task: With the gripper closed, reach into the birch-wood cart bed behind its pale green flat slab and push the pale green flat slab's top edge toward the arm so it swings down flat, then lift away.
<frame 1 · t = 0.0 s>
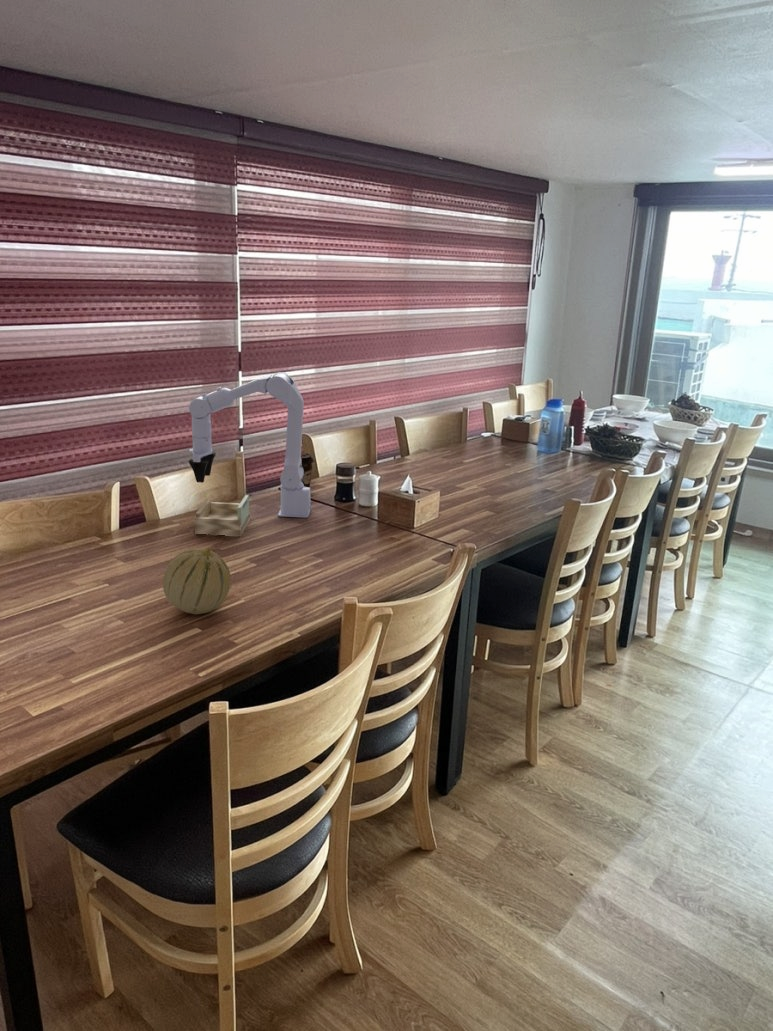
hand: (203, 478, 227), 10 cm above the table, tool pointing down, fingers open, 7 cm apart
cart bed: (223, 526, 217), on the table
cantaloupe: (198, 611, 165), on the table
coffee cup: (301, 491, 254), on the table
pale green flat slab: (243, 510, 215), point 5 cm above the table, hinge at 0.0°
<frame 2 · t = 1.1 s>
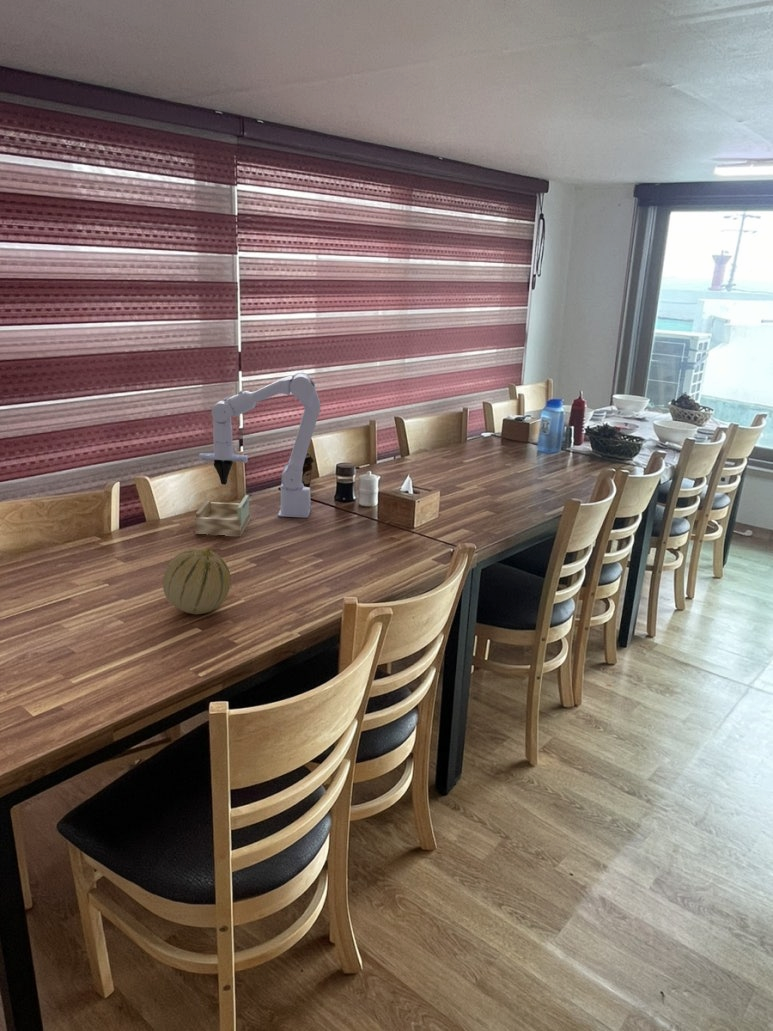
hand: (224, 483, 226), 9 cm above the table, tool pointing down, fingers closed
nothing on the table moved.
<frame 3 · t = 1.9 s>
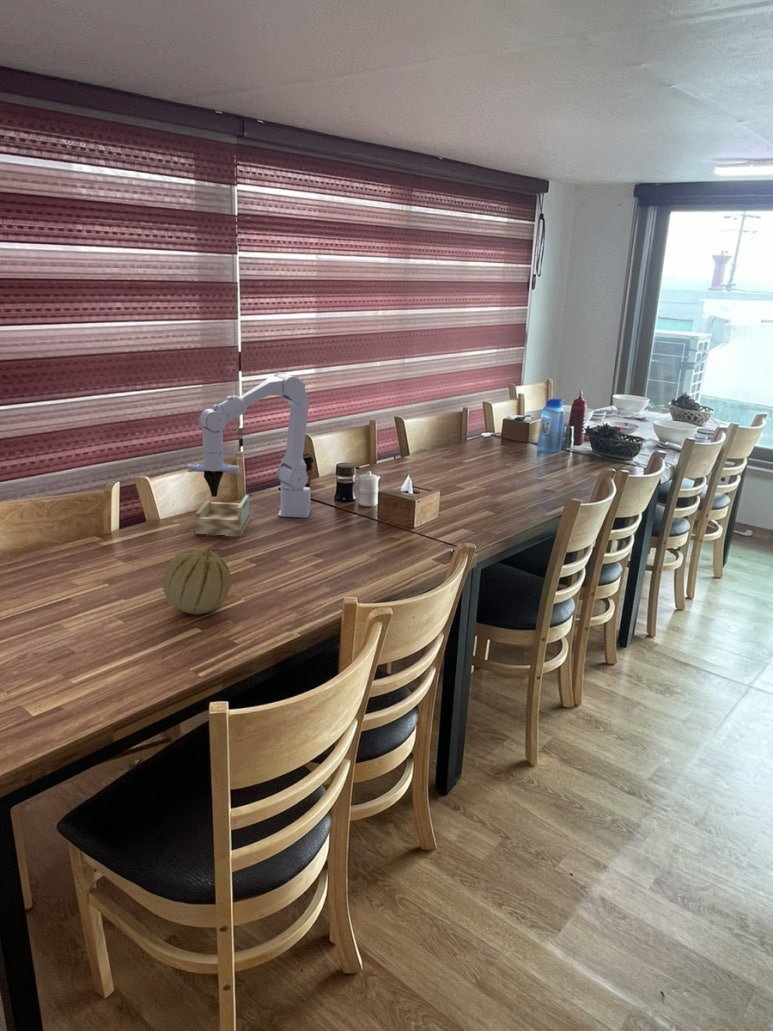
hand: (214, 495, 214), 9 cm above the table, tool pointing down, fingers closed
nothing on the table moved.
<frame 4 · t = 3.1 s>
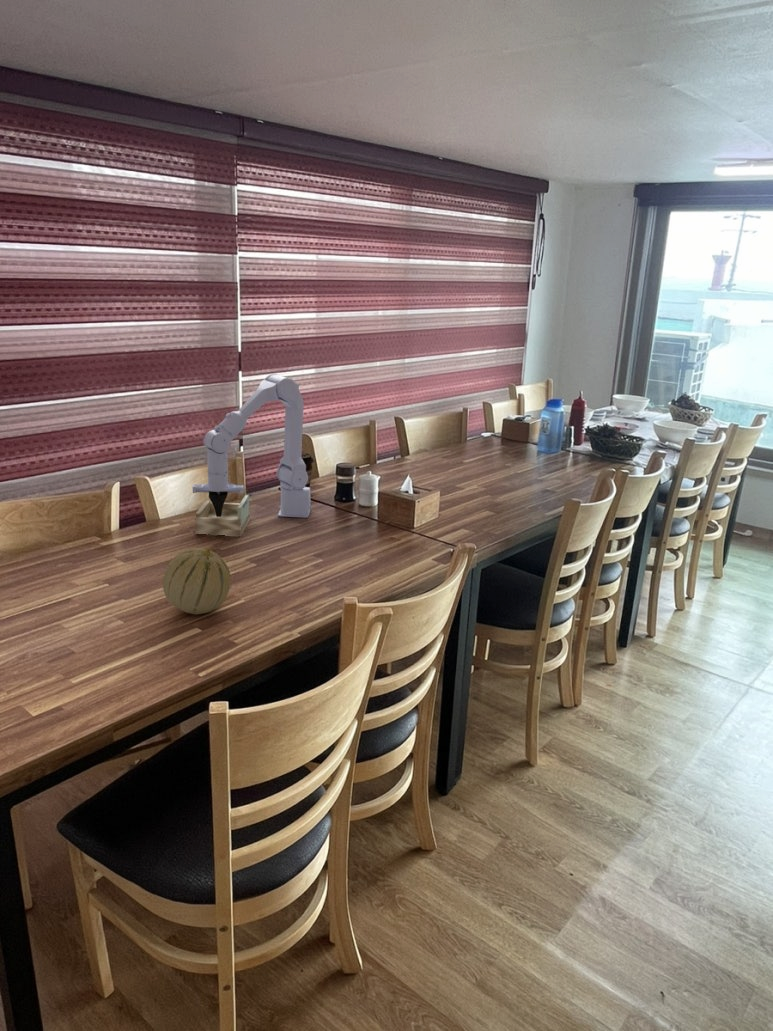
hand: (219, 515, 215), 3 cm above the table, tool pointing down, fingers closed
nothing on the table moved.
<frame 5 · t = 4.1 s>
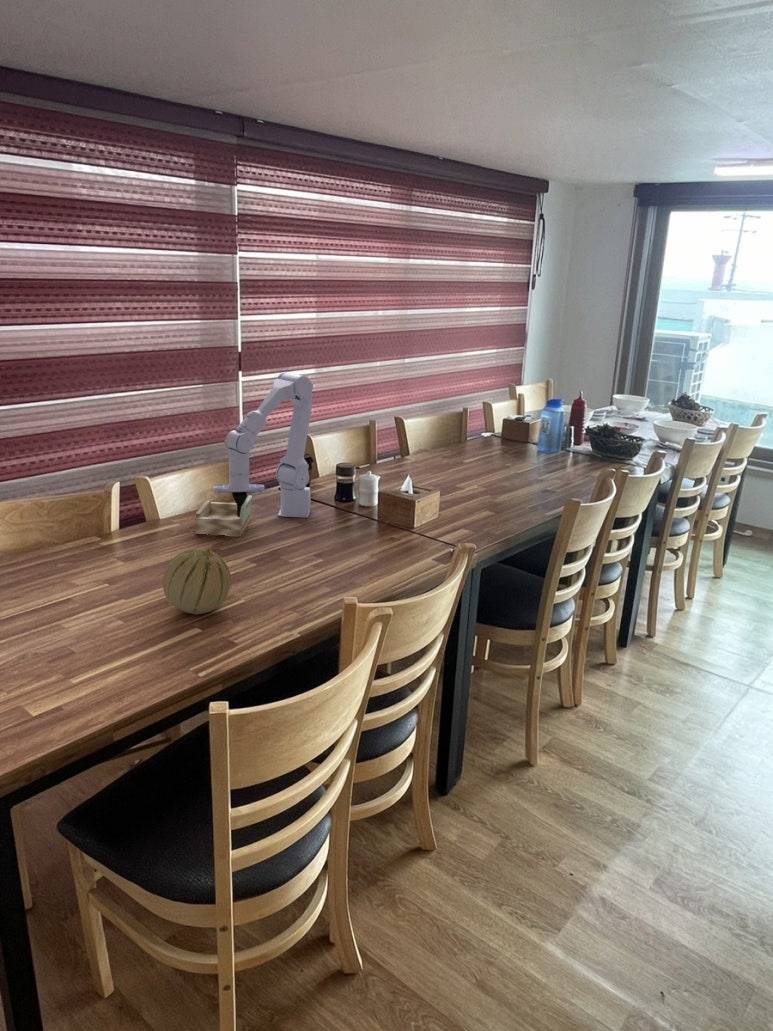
hand: (239, 516, 215), 4 cm above the table, tool pointing down, fingers closed, pressing on pale green flat slab
pale green flat slab: (245, 510, 215), point 5 cm above the table, hinge at 9.8°, touching gripper
everything else where it was.
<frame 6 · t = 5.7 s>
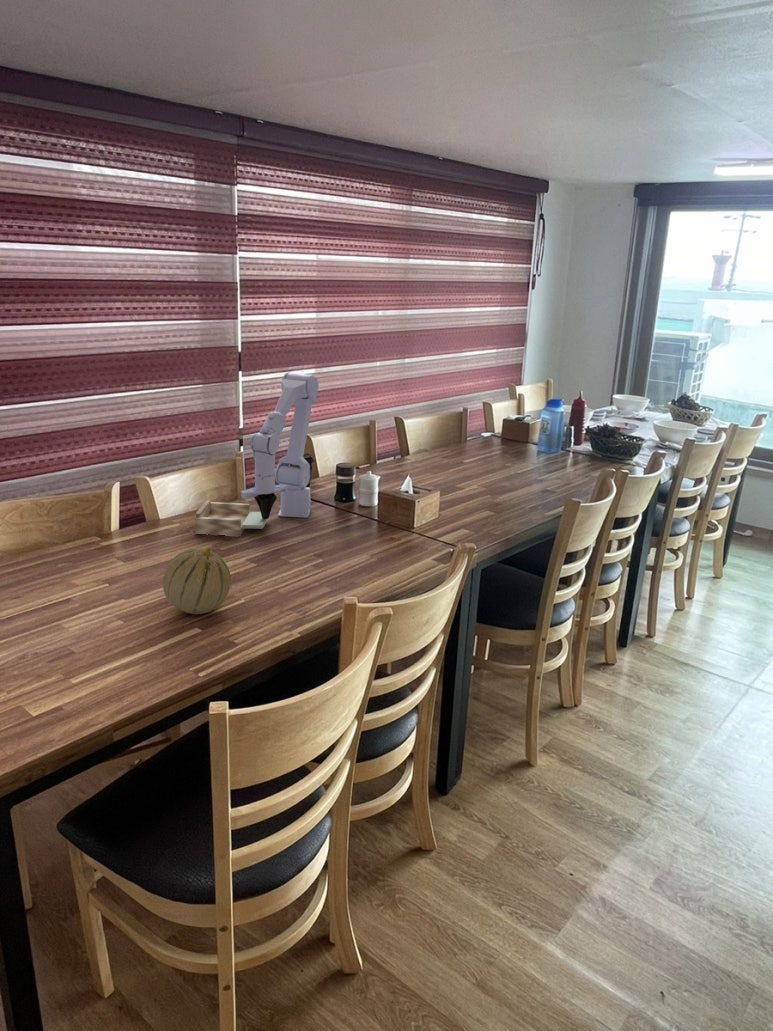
hand: (265, 517, 216), 3 cm above the table, tool pointing down, fingers closed
pale green flat slab: (256, 519, 216), point 3 cm above the table, hinge at 88.0°
everything else where it was.
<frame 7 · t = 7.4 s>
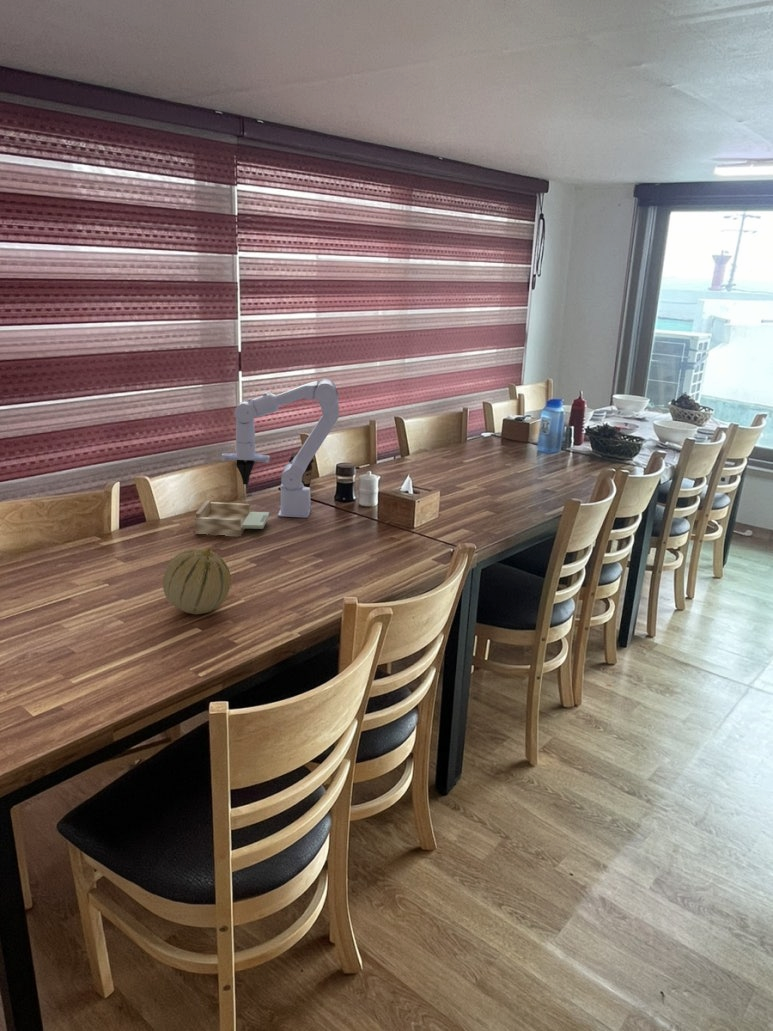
hand: (245, 483, 227), 9 cm above the table, tool pointing down, fingers closed
nothing on the table moved.
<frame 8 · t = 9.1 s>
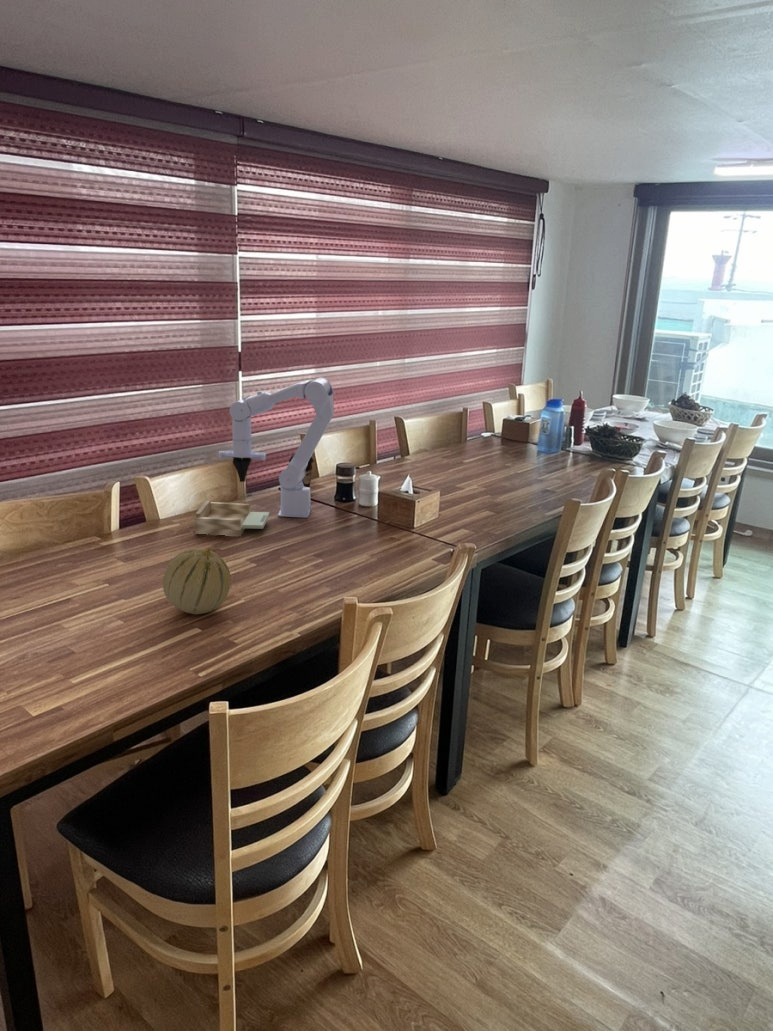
hand: (242, 480, 230), 9 cm above the table, tool pointing down, fingers closed
nothing on the table moved.
at the end: pale green flat slab at +88° (first picture: +0°); the gripper is holding nothing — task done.
